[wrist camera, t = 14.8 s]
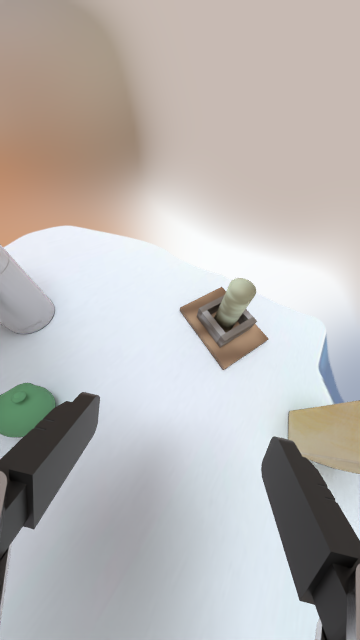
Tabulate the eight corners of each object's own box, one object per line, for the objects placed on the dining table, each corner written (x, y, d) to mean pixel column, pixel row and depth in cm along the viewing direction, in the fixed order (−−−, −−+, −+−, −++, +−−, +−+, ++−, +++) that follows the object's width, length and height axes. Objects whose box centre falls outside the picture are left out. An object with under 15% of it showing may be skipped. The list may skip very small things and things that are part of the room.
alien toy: (53, 379, 35) (17, 362, 27) (71, 416, 32) (36, 412, 24) (11, 404, 33) (-44, 395, 24) (26, 446, 30) (-30, 454, 21)
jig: (179, 310, 44) (181, 298, 40) (220, 289, 48) (225, 277, 44) (223, 370, 38) (230, 363, 34) (266, 341, 42) (276, 331, 38)
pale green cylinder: (208, 319, 42) (223, 284, 32) (224, 311, 43) (243, 274, 33) (221, 335, 40) (241, 303, 30) (237, 326, 42) (261, 292, 31)
